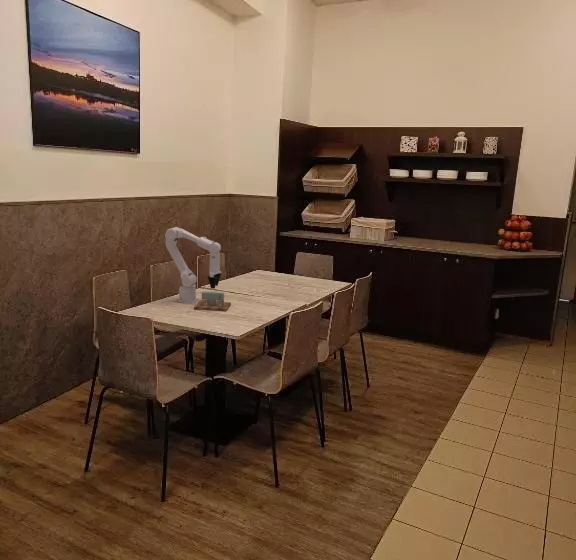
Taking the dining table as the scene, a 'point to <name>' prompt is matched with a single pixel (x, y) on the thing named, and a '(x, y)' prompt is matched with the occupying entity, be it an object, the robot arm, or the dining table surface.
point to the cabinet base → (218, 307)
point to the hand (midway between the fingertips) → (214, 287)
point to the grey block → (213, 297)
